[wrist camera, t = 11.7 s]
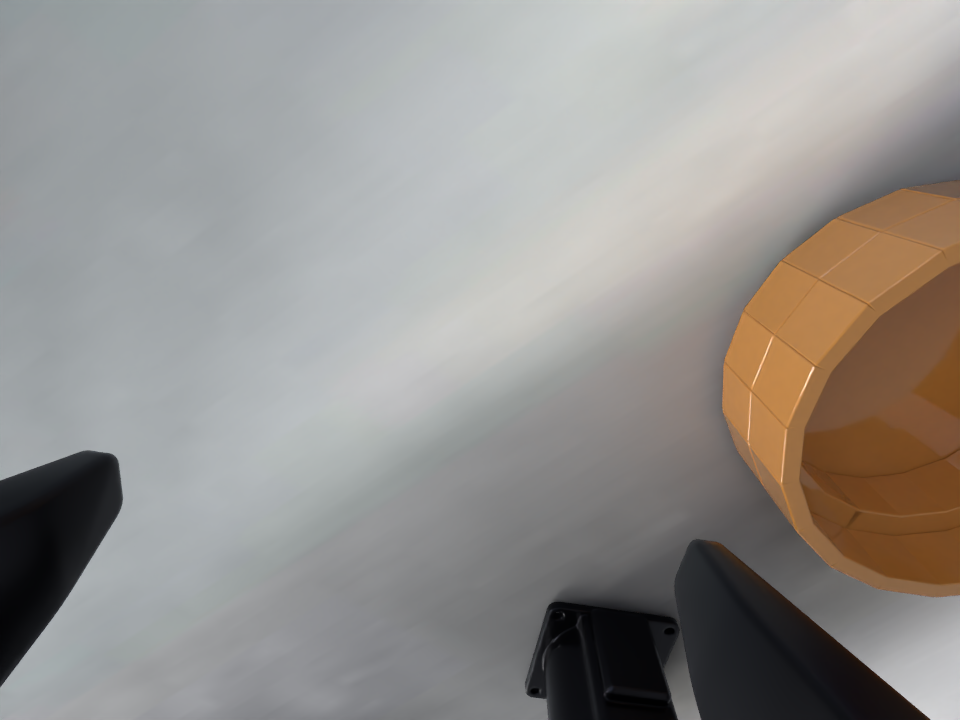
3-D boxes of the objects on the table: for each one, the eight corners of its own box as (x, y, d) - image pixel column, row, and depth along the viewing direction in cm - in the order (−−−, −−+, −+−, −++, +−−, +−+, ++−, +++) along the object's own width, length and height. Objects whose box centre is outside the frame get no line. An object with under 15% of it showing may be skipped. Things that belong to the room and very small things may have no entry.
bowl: (962, 515, 24) (1084, 619, 19) (673, 471, 24) (722, 567, 19) (1161, 215, 19) (1402, 251, 14) (794, 147, 18) (908, 160, 13)
